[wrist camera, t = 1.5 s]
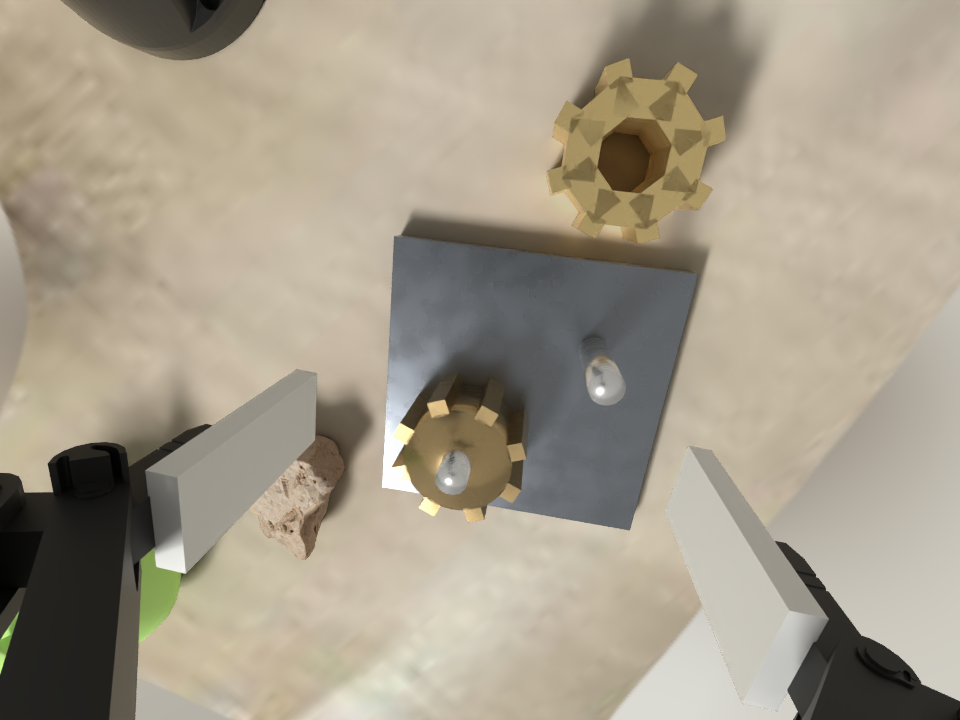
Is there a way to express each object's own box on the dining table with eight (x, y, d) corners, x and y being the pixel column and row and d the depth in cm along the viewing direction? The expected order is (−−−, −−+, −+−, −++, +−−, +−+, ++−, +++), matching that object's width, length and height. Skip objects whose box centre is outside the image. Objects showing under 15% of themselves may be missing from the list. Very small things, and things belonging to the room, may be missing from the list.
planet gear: (561, 78, 28) (564, 52, 23) (709, 92, 27) (745, 67, 22) (538, 228, 31) (538, 231, 26) (672, 244, 30) (697, 251, 25)
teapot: (181, 638, 49) (64, 776, 37) (66, 584, 48) (-89, 706, 36) (224, 500, 42) (98, 615, 30) (90, 437, 42) (-90, 528, 30)
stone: (361, 445, 38) (335, 478, 34) (322, 542, 42) (294, 583, 37) (265, 400, 38) (226, 426, 33) (235, 501, 42) (196, 537, 37)
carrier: (400, 234, 32) (353, 243, 24) (690, 271, 30) (744, 293, 22) (388, 476, 39) (348, 546, 31) (626, 518, 37) (649, 603, 29)
